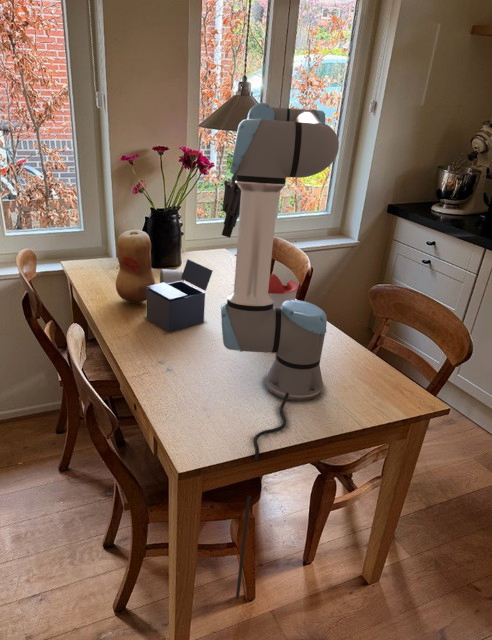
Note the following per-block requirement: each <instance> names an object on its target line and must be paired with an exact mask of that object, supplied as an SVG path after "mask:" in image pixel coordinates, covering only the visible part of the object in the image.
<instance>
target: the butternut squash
mask: <svg viewBox="0 0 492 640" xmlns="http://www.w3.org/2000/svg"><path fill="white" fill-rule="evenodd" d="M116 251H117V253H116V254H117V261H118V265H119V270H118V273H117V275H116V279H115V290H116V292H117V294H118V296H119V297H120V299H122V300H123V301H126V302H128V303H129V304H133V305H134V304H137V305H140V303H142V302H146V289H147V286H150V285H154V284H156V280H155V276H154V273H153V270H152V269H153V267H152V254H151V253H152V252H151V251H152V242H151V238H150V236H149V234H148V233H147V232H146V231H143V230H140V229H131V230H127V231H124V232H122V233H121V234H120V235H119V237H118V239H117V250H116Z"/></svg>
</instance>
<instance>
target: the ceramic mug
mask: <svg viewBox="0 0 492 640" xmlns="http://www.w3.org/2000/svg"><path fill="white" fill-rule="evenodd" d="M159 271H160V272H159V283H163V282H164V283H166V284H169V283H173V282H177V281H183V282H185V280H183V279H181V277H182V274H183V271H182V270H179V269H167V268H165V269H164V268H161V269H160V270H159Z"/></svg>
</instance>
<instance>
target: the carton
mask: <svg viewBox="0 0 492 640" xmlns="http://www.w3.org/2000/svg"><path fill="white" fill-rule="evenodd" d="M145 302H146V305H145V306H146V320H148V321H149V322H152V323H153V324H155V325H156V326H158V327H160V328H161V329H163V330H164V331H166V332H168V333H170V334H171V333H173V332H176V331H180V330H183V329H186V328H190V327H194V326H196V325H197V326H198V325H200V324H204V323H205V306H206V305H205V303H206V292H205V291H203V290H202V289H200V288H198V287H196V286H195V287H194V285H192V284H191V285H190V283H188V282H186V281H184V282H183V281H177V282H173V283H169V284H166V283H164V282H163V283H160V282H159V283H155V284H154V285H150V286H147V289H146V300H145Z"/></svg>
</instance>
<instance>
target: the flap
mask: <svg viewBox="0 0 492 640" xmlns="http://www.w3.org/2000/svg"><path fill="white" fill-rule="evenodd" d="M182 272H183V274H182V277H181V279H183V280H184V282H186V283H188V284H191V285H192V286H195V287H196V288H198V289H200V290H202V291H204V292H206V291H207V288H208V286H209V282H210V280H211V277H212V274H213V269H211V268H208V267H207V266H204V265H203V264H199V263H197V262H196V261H194V260H192V259H189V258H187V259H186V262H185V265H184V269H183V271H182Z"/></svg>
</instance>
